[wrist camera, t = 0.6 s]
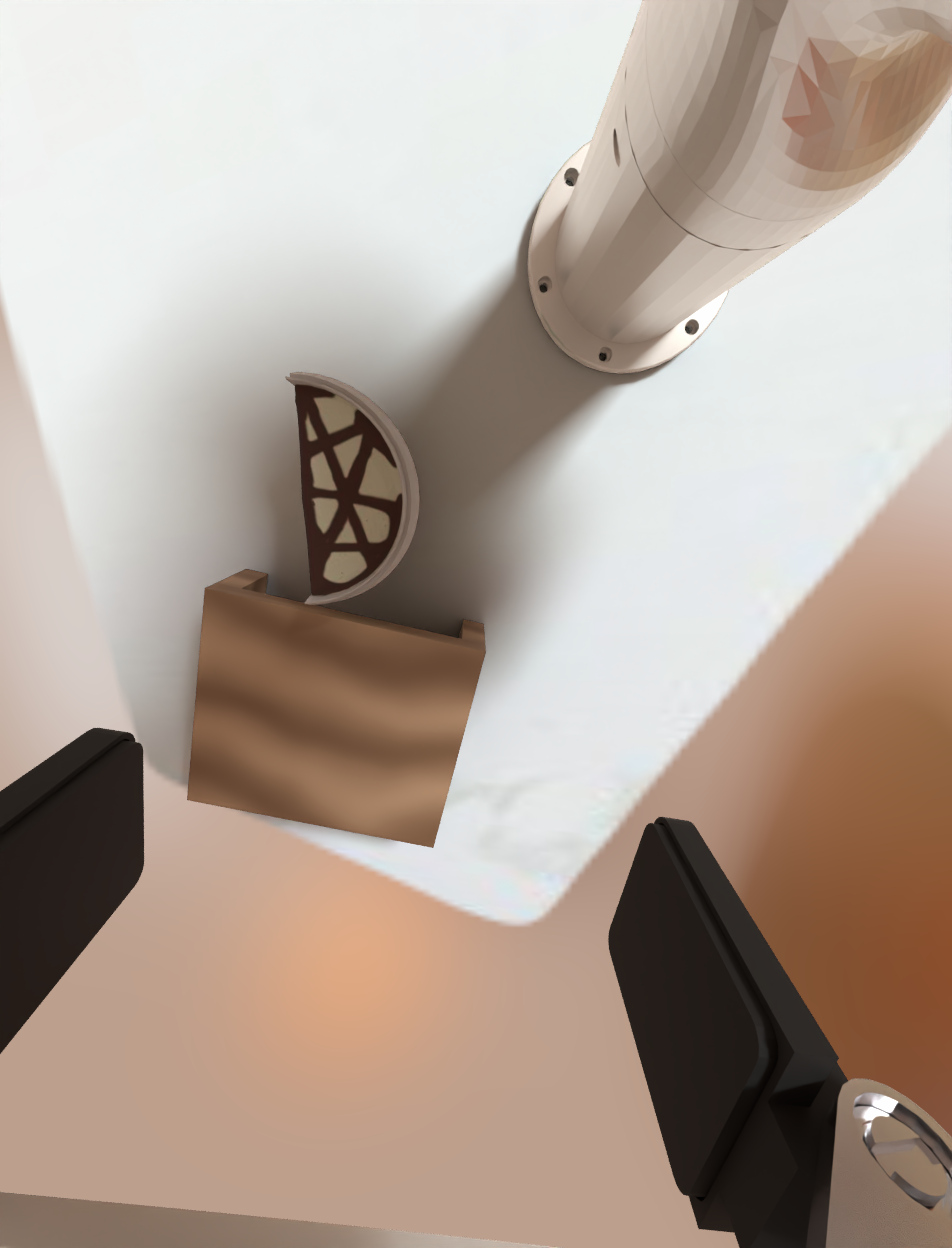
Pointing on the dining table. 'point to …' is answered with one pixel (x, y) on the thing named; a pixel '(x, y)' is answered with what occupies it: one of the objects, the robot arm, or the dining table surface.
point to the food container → (351, 488)
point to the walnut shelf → (328, 713)
